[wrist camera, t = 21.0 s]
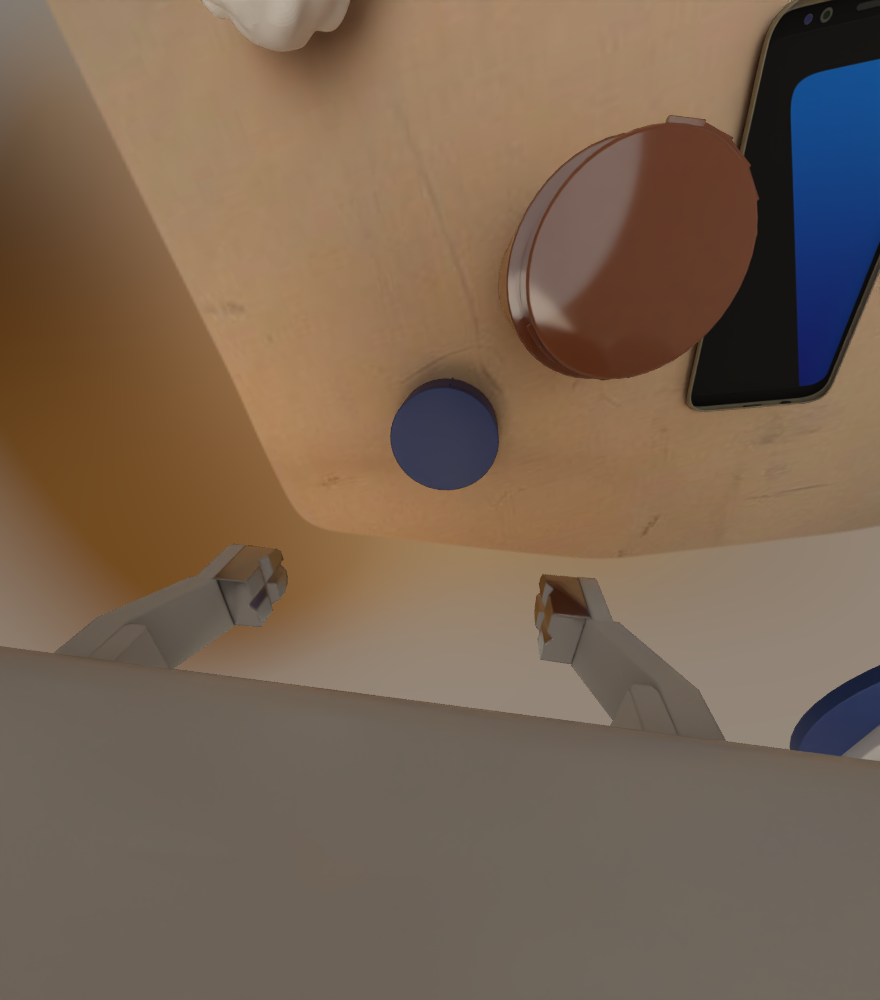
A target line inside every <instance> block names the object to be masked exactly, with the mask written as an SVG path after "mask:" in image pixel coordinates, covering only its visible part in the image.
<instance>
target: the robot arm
mask: <svg viewBox="0 0 880 1000" xmlns="http://www.w3.org/2000/svg"><path fill="white" fill-rule="evenodd" d="M282 561H283V556H282V553H281V551H280V550H278V549H274V548H266V547H257V546H249V545H248V546H246V545H238V544H232V545H229V546H227V548H226V549H224V550H223V551H222V552H221V553H220V554H219V555H218V556H217V557H216V558H215V559H214V560H213V561H212V562H211V563H210V564H209V565H208V566H206V567H205V569H203V570H202V571H201V572H200V573H199V574H198V575H197V576H196V577H189V578H187V579H184V580H182V581H180V582H177V583H175V584H173V585H171V586H168V587H166V588H164V589H161V590H159V591H157V592H155V593H152V594H150V595H148V596H145V597H143V598H141V599H138V600H136V601H134V602H131V603H129V604H127V605H125V606H122V607H120V608H118V609H115V610H113V611H111V612H108V613H106V614H104V615H101V616H99V617H97V618H96V619H95V620H93V621H92V622H91V623H90V624H88V625H87V626H86V627H85V628H83V629H82V630H81V631H80V632H79V633H77V634H76V635H75V636H74V637H73V638H71V639H70V640H69V641H68V642H66V643H65V644H64V645H63V646H61V647H60V648H59V649H58V650H57V651H55V652H54V653H48V652H40V651H32V650H25V649H17V648H10V647H2V646H0V1000H880V725H878V726H877V727H876V728H875V729H873V730H872V731H871V732H870V733H868V734H867V735H866V736H865V737H864V738H862V739H861V740H860V741H859V742H857V743H856V744H855V745H854V746H852V747H851V748H850V749H849V750H847V751H846V752H845V753H844V754H843V755H841V756H835V755H828V754H820V753H812V752H804V751H797V750H788V749H781V748H772V747H766V746H758V745H750V744H743V743H735V742H728V741H726V740H725V738H724V736H723V734H722V732H721V730H720V729H719V727H718V725H717V723H716V721H715V719H714V717H713V715H712V714H711V712H710V710H709V708H708V706H707V704H706V703H705V700H704V699H703V697H702V695H701V693H700V691H699V690H698V689H697V688H696V687H695V686H693V685H692V684H691V683H690V682H689V681H688V680H686V679H685V678H684V677H683V676H682V675H680V674H679V673H678V672H677V671H676V670H675V669H673V668H672V667H671V666H670V665H669V664H668V663H666V662H665V661H664V660H663V659H662V658H660V657H659V656H658V655H657V654H656V653H654V652H653V651H652V650H651V649H650V648H648V647H647V646H646V645H645V644H644V643H643V642H641V641H640V640H639V639H638V638H637V637H636V636H634V635H633V634H632V633H631V632H630V631H628V630H627V629H626V628H625V627H624V626H623V625H621V624H620V623H619V622H613V620H612V617H611V615H610V612H609V610H608V607H607V605H606V602H605V599H604V597H603V595H602V592H601V589H600V587H599V584H598V582H597V580H596V579H595V578H584V577H577V578H576V577H568V576H557V575H556V576H555V575H546V574H543V575H542V576H541V578H540V583H539V587H540V593H539V594H538V595H537V596H536V603H535V625H536V628H537V629H538V630H539V636H538V645H539V652H540V659H541V660H547V661H553V662H560V663H567V664H572V665H571V666H572V667H573V668H574V670H575V671H576V673H577V674H578V675H579V676H580V678H581V679H582V680H583V682H584V683H585V684H586V686H587V687H588V688H589V690H590V691H591V692H592V694H593V695H594V696H595V698H596V699H597V700H598V702H599V703H600V704H601V705H602V707H603V708H604V709H605V711H606V712H607V713H608V715H609V716H610V717H611V719H612V720H613V721H612V723H611V725H610V726H605V725H598V724H591V723H582V722H575V721H568V720H560V719H553V718H545V717H537V716H529V715H522V714H514V713H506V712H499V711H491V710H483V709H476V708H468V707H460V706H453V705H445V704H437V703H430V702H422V701H414V700H407V699H399V698H392V697H383V696H376V695H369V694H361V693H353V692H346V691H338V690H330V689H323V688H315V687H308V686H300V685H292V684H285V683H278V682H270V681H262V680H255V679H247V678H239V677H231V676H223V675H217V674H209V673H201V672H193V671H186V670H178V669H173V668H175V667H176V666H178V665H179V664H181V663H182V662H183V661H185V660H186V659H188V658H189V657H190V656H192V655H194V654H195V653H196V652H198V651H199V650H201V649H202V648H204V647H205V646H206V645H208V644H209V643H211V642H212V641H214V640H215V639H217V638H218V637H219V636H221V635H222V634H224V633H225V632H226V631H228V630H229V629H231V628H232V627H234V625H244V626H255V627H261V626H262V625H263V623H264V622H265V621H266V619H267V618H268V616H269V615H270V613H271V612H272V611H273V609H272V604H273V603H275V602H276V601H278V600H280V599H281V597H282V596H283V594H284V593H285V590H286V587H287V583H288V576H287V571H286V569H285V568H284V567H283V566H282V565H281V562H282Z"/></svg>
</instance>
